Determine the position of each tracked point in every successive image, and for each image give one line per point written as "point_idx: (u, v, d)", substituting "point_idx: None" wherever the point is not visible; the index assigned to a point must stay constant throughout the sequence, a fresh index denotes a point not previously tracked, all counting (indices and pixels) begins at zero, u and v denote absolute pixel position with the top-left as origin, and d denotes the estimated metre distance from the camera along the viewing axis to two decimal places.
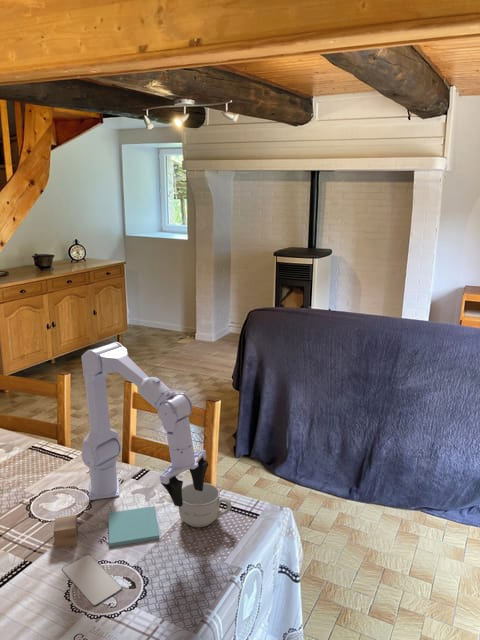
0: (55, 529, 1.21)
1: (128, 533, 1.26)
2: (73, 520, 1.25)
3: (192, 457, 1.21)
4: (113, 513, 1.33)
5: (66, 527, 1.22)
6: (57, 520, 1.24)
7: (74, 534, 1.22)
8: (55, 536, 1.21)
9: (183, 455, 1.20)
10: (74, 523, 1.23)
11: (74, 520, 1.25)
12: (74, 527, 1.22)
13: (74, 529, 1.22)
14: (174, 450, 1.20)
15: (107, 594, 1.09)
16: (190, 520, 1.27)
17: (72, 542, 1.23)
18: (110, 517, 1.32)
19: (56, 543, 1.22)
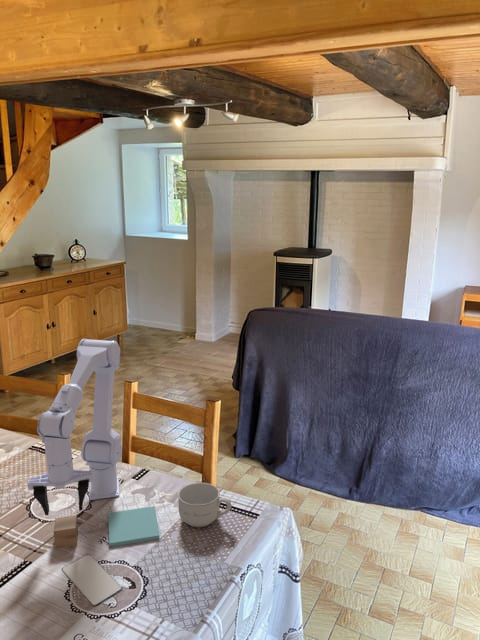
0: (55, 529, 1.21)
1: (128, 533, 1.26)
2: (73, 520, 1.25)
3: (61, 477, 1.17)
4: (113, 513, 1.33)
5: (66, 527, 1.22)
6: (57, 520, 1.24)
7: (74, 534, 1.22)
8: (55, 536, 1.21)
9: (50, 471, 1.17)
10: (74, 523, 1.23)
11: (74, 520, 1.25)
12: (74, 527, 1.22)
13: (74, 529, 1.22)
14: (46, 462, 1.18)
15: (107, 594, 1.09)
16: (190, 520, 1.27)
17: (72, 542, 1.23)
18: (110, 517, 1.32)
19: (56, 543, 1.22)
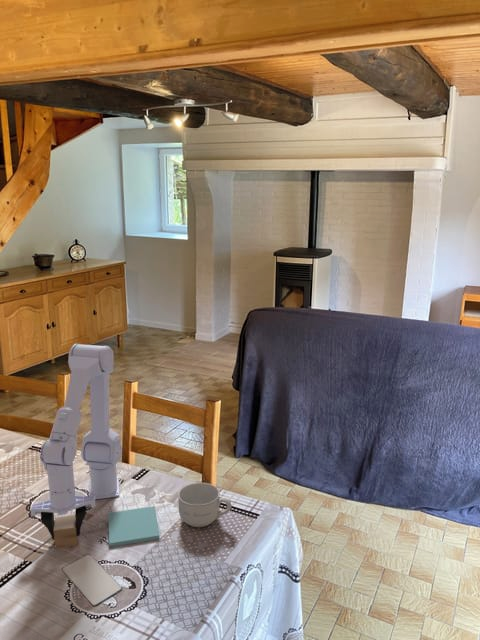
0: (55, 529, 1.21)
1: (128, 533, 1.26)
2: (73, 520, 1.24)
3: (63, 503, 1.19)
4: (113, 513, 1.33)
5: (66, 526, 1.22)
6: (57, 520, 1.24)
7: (74, 534, 1.22)
8: (55, 535, 1.21)
9: (53, 497, 1.19)
10: (74, 523, 1.23)
11: (74, 520, 1.24)
12: (74, 527, 1.22)
13: (74, 529, 1.22)
14: (49, 489, 1.20)
15: (107, 594, 1.09)
16: (190, 520, 1.27)
17: (72, 542, 1.23)
18: (110, 517, 1.32)
19: (56, 543, 1.22)
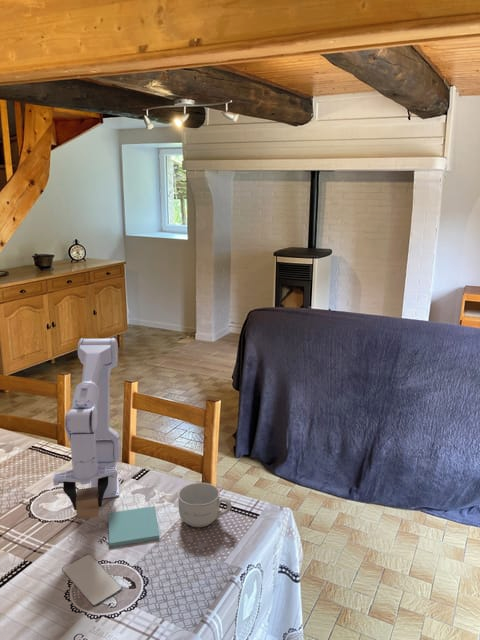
0: (77, 499, 1.21)
1: (128, 533, 1.26)
2: (95, 491, 1.24)
3: (86, 473, 1.19)
4: (113, 513, 1.33)
5: (88, 497, 1.22)
6: (79, 491, 1.24)
7: (96, 505, 1.22)
8: (77, 506, 1.21)
9: (76, 467, 1.19)
10: (96, 494, 1.23)
11: (96, 491, 1.24)
12: (96, 498, 1.22)
13: (96, 500, 1.22)
14: None
15: (107, 594, 1.08)
16: (190, 520, 1.27)
17: (94, 513, 1.22)
18: (110, 517, 1.32)
19: (78, 513, 1.22)
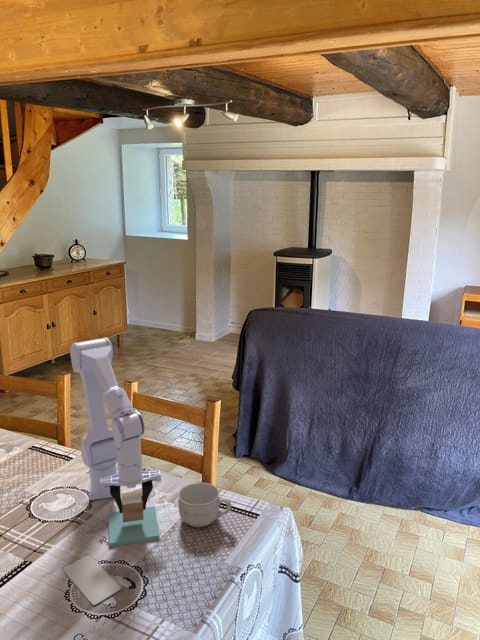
0: (123, 503, 1.25)
1: (128, 533, 1.26)
2: (139, 495, 1.28)
3: (132, 477, 1.23)
4: (113, 513, 1.33)
5: (133, 501, 1.26)
6: (123, 495, 1.28)
7: (141, 508, 1.26)
8: (124, 510, 1.25)
9: (122, 471, 1.23)
10: (140, 498, 1.27)
11: (140, 495, 1.28)
12: (141, 501, 1.26)
13: (141, 503, 1.26)
14: (118, 463, 1.24)
15: (107, 594, 1.08)
16: (190, 520, 1.27)
17: (139, 516, 1.26)
18: (110, 517, 1.32)
19: (124, 517, 1.25)
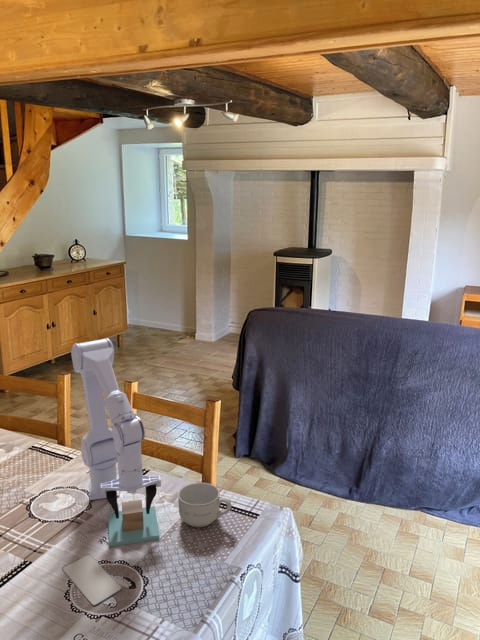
0: (123, 512, 1.26)
1: (128, 533, 1.26)
2: (139, 504, 1.29)
3: (133, 482, 1.23)
4: (113, 513, 1.33)
5: (133, 510, 1.26)
6: (124, 504, 1.29)
7: (141, 517, 1.27)
8: (124, 519, 1.26)
9: (123, 476, 1.23)
10: (141, 507, 1.28)
11: (140, 504, 1.29)
12: (141, 511, 1.27)
13: (141, 513, 1.26)
14: (118, 468, 1.24)
15: (107, 594, 1.08)
16: (190, 520, 1.27)
17: (139, 525, 1.27)
18: (110, 517, 1.32)
19: (124, 526, 1.26)
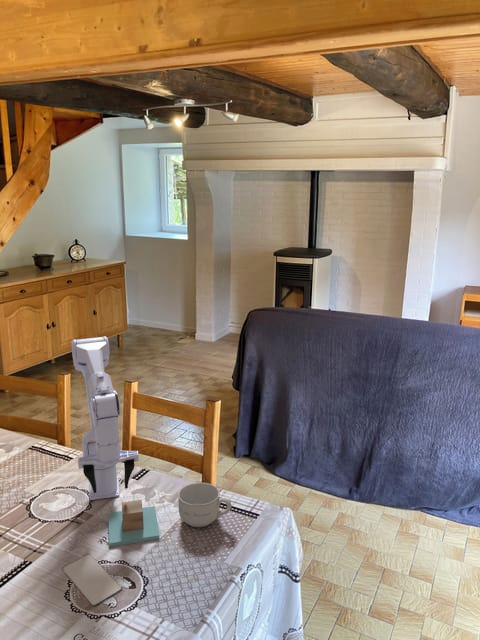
0: (123, 512, 1.26)
1: (128, 533, 1.26)
2: (139, 504, 1.29)
3: (110, 456, 1.24)
4: (113, 513, 1.33)
5: (133, 510, 1.26)
6: (124, 504, 1.29)
7: (141, 517, 1.27)
8: (124, 519, 1.26)
9: (100, 450, 1.24)
10: (141, 507, 1.28)
11: (140, 504, 1.29)
12: (141, 511, 1.27)
13: (141, 513, 1.26)
14: (95, 442, 1.25)
15: (107, 594, 1.08)
16: (190, 520, 1.27)
17: (139, 525, 1.27)
18: (110, 517, 1.32)
19: (124, 526, 1.26)
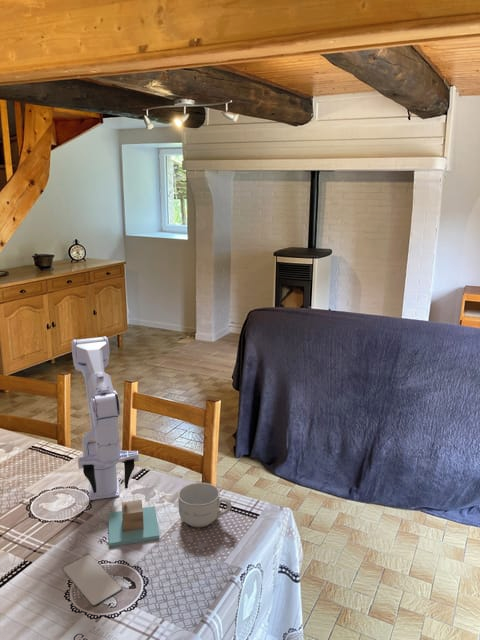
0: (123, 512, 1.26)
1: (128, 533, 1.26)
2: (139, 504, 1.29)
3: (110, 456, 1.24)
4: (113, 513, 1.33)
5: (133, 510, 1.26)
6: (124, 504, 1.29)
7: (141, 517, 1.27)
8: (124, 519, 1.26)
9: (100, 450, 1.24)
10: (141, 507, 1.28)
11: (140, 504, 1.29)
12: (141, 511, 1.27)
13: (141, 513, 1.26)
14: (95, 442, 1.25)
15: (107, 594, 1.08)
16: (190, 520, 1.27)
17: (139, 525, 1.27)
18: (110, 517, 1.32)
19: (124, 526, 1.26)
